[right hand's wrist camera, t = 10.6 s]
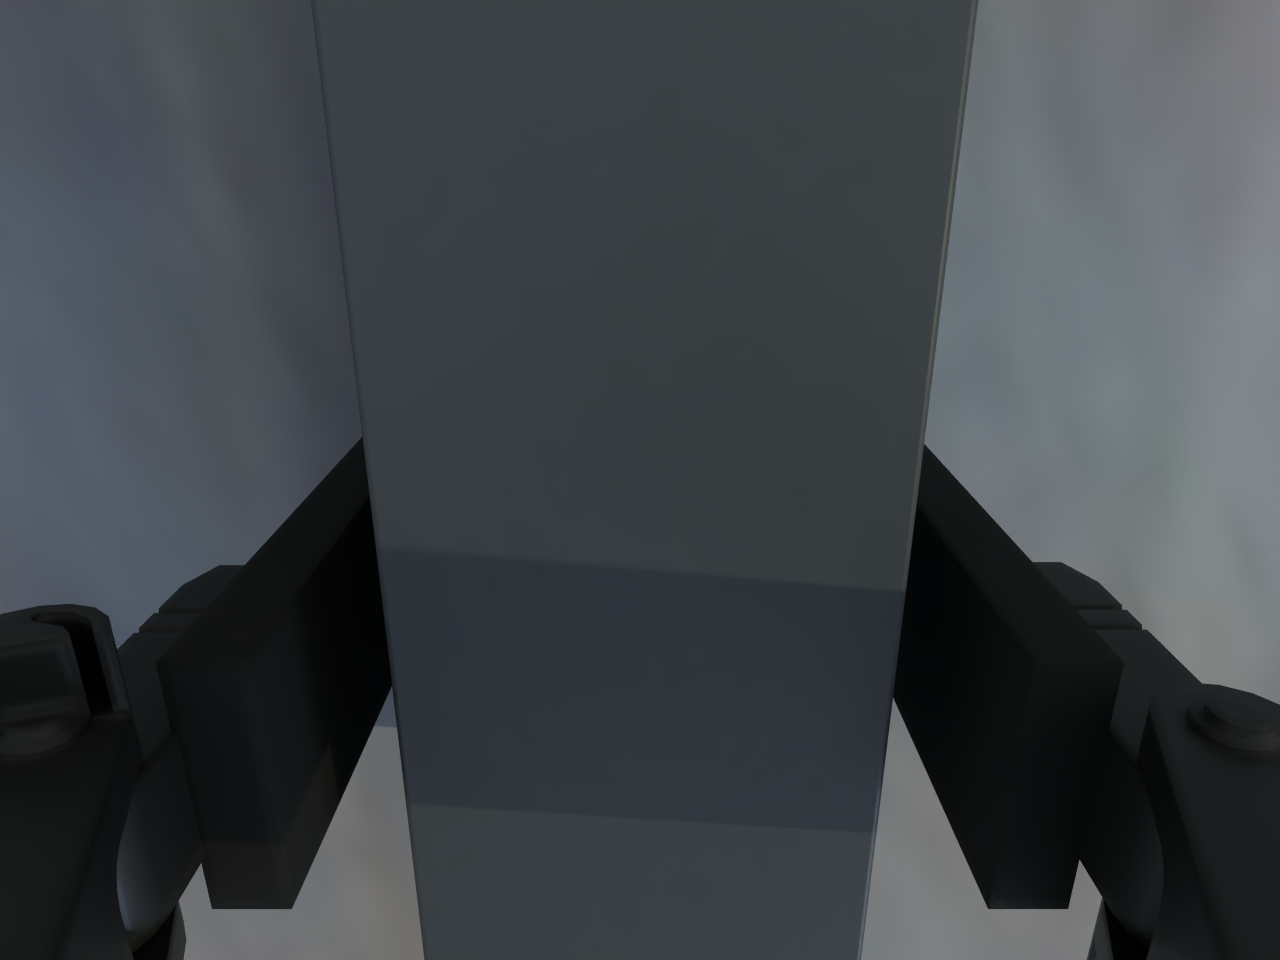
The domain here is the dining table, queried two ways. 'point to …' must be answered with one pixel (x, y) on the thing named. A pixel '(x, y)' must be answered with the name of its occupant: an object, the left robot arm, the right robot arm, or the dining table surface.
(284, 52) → the dining table surface
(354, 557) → the right robot arm
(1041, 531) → the dining table surface
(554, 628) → the post
